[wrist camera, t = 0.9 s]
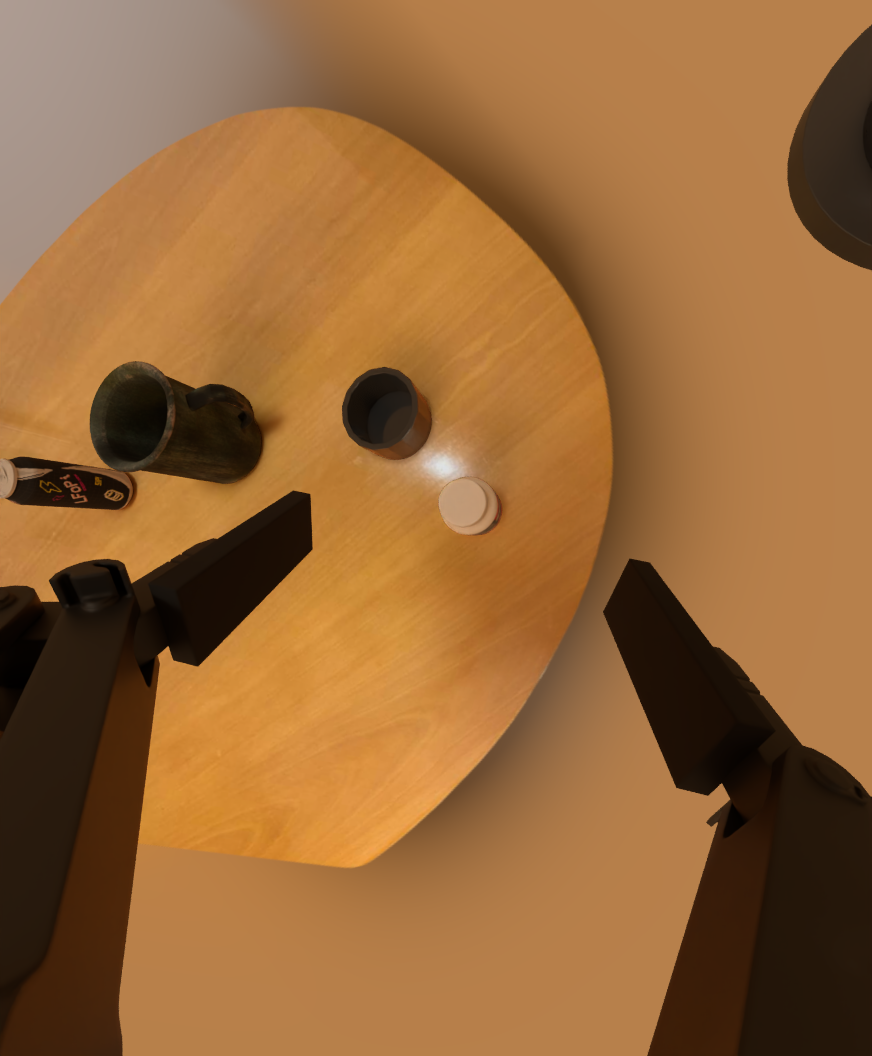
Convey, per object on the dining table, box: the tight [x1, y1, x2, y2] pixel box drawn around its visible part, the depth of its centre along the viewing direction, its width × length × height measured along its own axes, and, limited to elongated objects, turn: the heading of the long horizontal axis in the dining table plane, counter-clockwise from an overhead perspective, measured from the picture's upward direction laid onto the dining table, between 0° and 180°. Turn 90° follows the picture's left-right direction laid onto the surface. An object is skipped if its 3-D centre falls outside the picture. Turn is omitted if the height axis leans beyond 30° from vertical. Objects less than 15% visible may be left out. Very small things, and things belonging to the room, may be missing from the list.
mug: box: [90, 361, 261, 484], centre depth 38 cm, size 11×15×12 cm
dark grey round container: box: [342, 367, 432, 460], centre depth 36 cm, size 8×8×5 cm
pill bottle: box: [438, 477, 502, 535], centre depth 31 cm, size 5×5×9 cm
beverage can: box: [0, 457, 133, 510], centre depth 44 cm, size 6×6×12 cm
